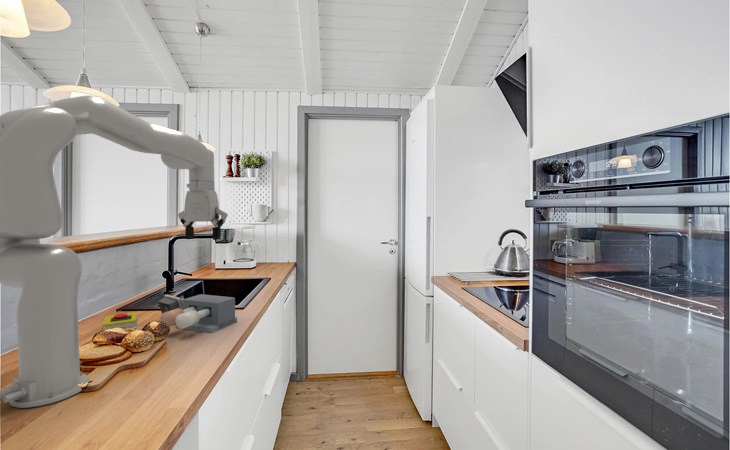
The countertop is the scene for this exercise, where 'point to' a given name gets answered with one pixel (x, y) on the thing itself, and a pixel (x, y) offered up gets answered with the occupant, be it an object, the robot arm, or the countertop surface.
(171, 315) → the knob terracotta
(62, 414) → the countertop surface
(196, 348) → the countertop surface
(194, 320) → the knob cream
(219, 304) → the block
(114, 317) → the emergency button
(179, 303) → the electrical switch
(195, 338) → the countertop surface
